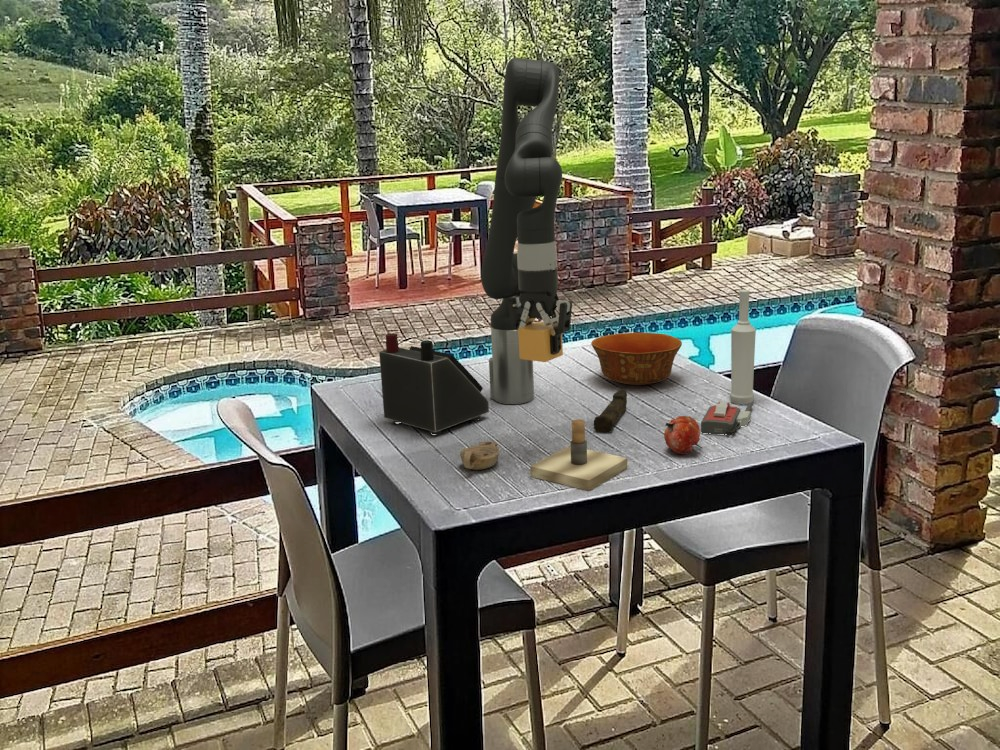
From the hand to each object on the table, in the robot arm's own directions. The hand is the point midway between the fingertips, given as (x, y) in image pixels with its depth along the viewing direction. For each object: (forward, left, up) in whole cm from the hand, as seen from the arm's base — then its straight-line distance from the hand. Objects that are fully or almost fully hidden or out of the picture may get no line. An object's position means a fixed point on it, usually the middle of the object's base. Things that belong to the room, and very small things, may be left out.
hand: (541, 351), depth 203 cm
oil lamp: (-5, -14, -20) cm, 25 cm away
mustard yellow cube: (0, 0, -1) cm, 1 cm away
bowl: (-8, +49, -20) cm, 54 cm away
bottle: (+20, +47, -20) cm, 55 cm away
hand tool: (+1, +23, -21) cm, 31 cm away
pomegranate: (+24, +13, -20) cm, 34 cm away
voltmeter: (-30, +2, -20) cm, 37 cm away
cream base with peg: (+13, -7, -20) cm, 25 cm away
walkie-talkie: (+23, +34, -21) cm, 46 cm away
